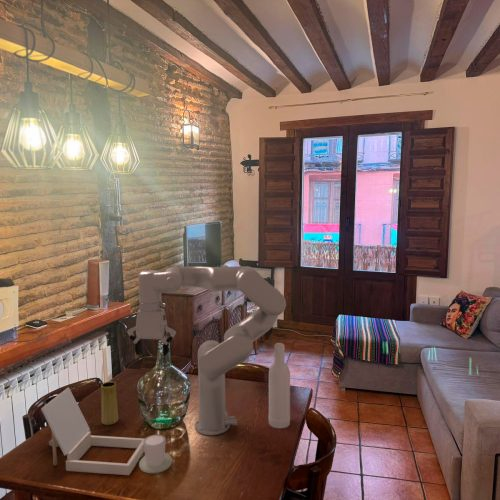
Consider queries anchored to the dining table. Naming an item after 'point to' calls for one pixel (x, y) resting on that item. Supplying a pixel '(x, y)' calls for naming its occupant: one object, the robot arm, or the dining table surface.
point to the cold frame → (84, 438)
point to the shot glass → (154, 450)
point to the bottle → (279, 390)
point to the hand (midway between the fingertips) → (152, 354)
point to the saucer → (156, 469)
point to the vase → (109, 403)
